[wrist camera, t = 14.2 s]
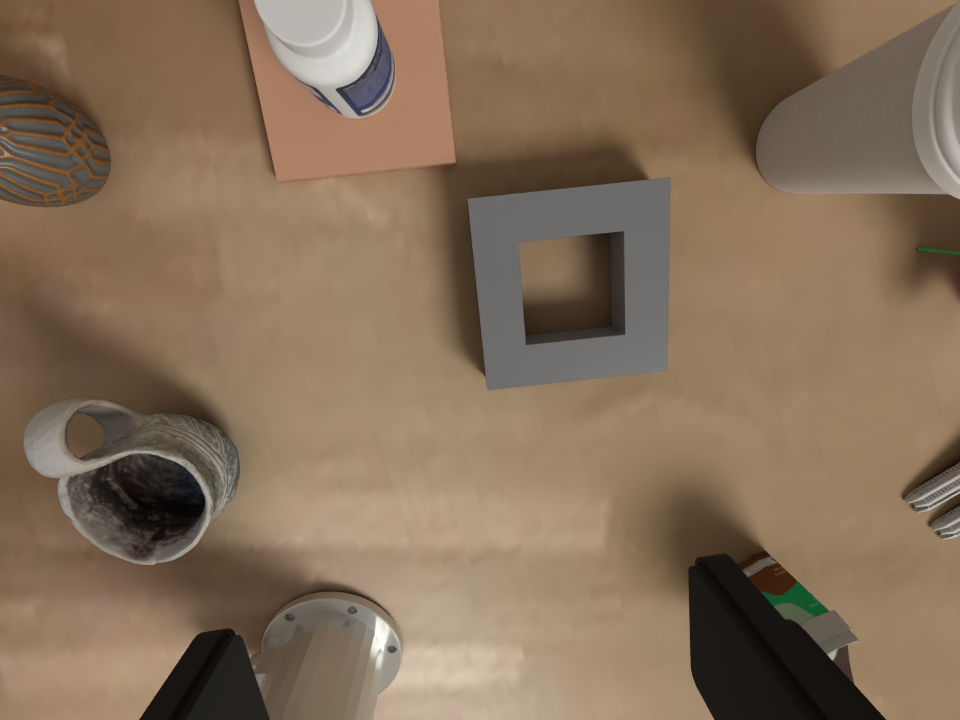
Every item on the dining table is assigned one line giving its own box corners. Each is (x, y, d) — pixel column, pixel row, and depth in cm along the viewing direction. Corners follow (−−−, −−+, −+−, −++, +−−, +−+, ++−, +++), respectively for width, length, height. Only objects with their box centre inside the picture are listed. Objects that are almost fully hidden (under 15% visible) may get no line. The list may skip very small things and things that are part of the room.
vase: (154, 171, 30) (33, 147, 22) (80, 229, 31) (-64, 228, 23) (74, 73, 28) (-91, 6, 20) (-2, 138, 29) (-190, 100, 21)
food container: (696, 556, 40) (769, 657, 31) (763, 537, 40) (858, 634, 30) (716, 656, 44) (788, 776, 34) (779, 640, 43) (869, 756, 34)
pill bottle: (396, 25, 28) (361, -83, 18) (398, 122, 29) (366, 68, 20) (307, 21, 27) (225, -91, 18) (313, 118, 29) (241, 62, 19)
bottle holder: (485, 377, 35) (487, 390, 32) (467, 201, 31) (467, 198, 28) (650, 359, 35) (667, 370, 32) (651, 182, 31) (670, 177, 28)
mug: (184, 524, 38) (88, 624, 28) (79, 403, 34) (-71, 469, 25) (279, 473, 37) (213, 559, 27) (180, 343, 33) (64, 388, 24)
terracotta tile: (281, 182, 31) (277, 181, 30) (237, -27, 27) (231, -35, 26) (456, 164, 31) (455, 162, 30) (433, -48, 27) (432, -56, 26)
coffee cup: (802, 32, 29) (1133, -165, 15) (899, 123, 31) (1281, 27, 16) (705, 163, 31) (912, 103, 17) (801, 242, 33) (1065, 249, 18)
